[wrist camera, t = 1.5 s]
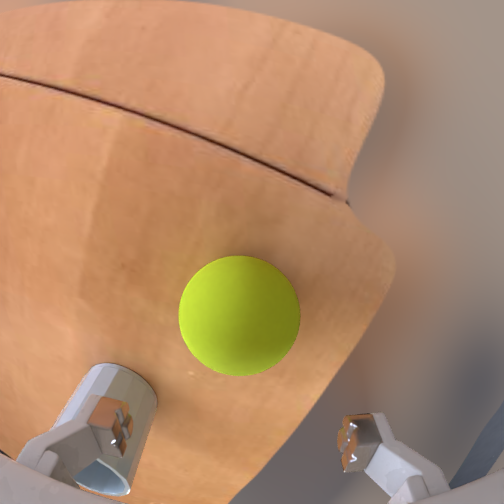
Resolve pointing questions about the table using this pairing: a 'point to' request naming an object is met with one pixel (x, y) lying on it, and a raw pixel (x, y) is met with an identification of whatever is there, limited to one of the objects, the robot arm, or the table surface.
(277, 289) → the tennis ball
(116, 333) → the table surface
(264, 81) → the table surface
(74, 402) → the cup
